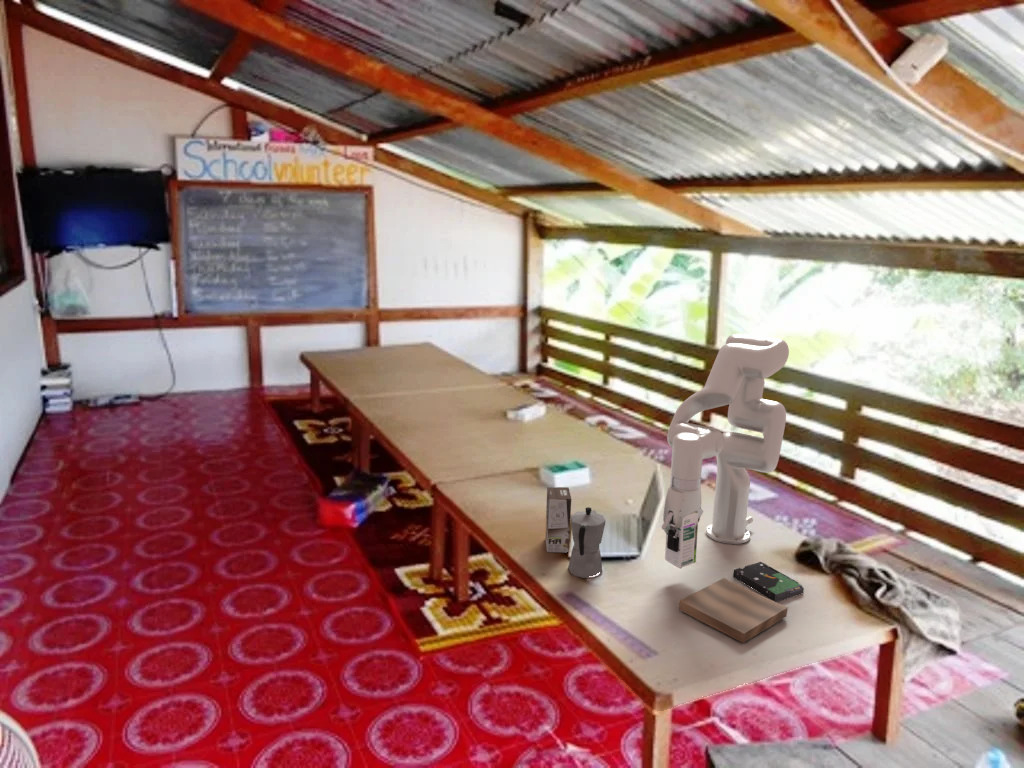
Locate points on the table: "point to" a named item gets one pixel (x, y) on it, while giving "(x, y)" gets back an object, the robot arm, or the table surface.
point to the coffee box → (558, 519)
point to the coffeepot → (586, 543)
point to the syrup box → (684, 542)
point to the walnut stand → (733, 609)
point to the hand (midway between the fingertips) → (681, 545)
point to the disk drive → (768, 581)
